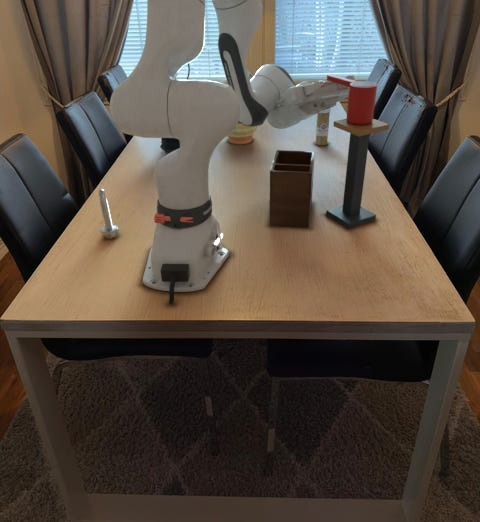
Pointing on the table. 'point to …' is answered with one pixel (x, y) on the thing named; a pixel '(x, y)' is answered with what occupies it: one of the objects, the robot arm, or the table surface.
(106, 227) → the screw
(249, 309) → the table surface
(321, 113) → the sprinkles bottle
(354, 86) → the cup
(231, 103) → the robot arm
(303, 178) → the caddy
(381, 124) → the stand
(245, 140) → the potted cactus
